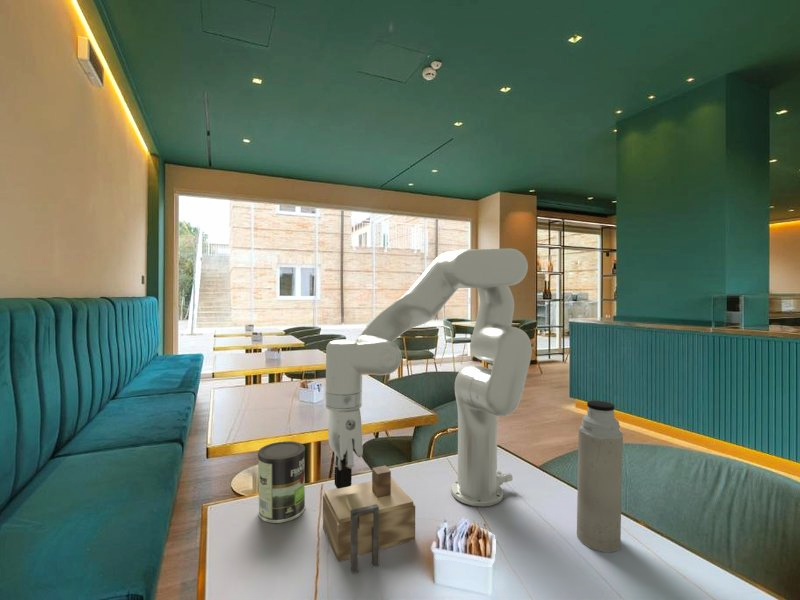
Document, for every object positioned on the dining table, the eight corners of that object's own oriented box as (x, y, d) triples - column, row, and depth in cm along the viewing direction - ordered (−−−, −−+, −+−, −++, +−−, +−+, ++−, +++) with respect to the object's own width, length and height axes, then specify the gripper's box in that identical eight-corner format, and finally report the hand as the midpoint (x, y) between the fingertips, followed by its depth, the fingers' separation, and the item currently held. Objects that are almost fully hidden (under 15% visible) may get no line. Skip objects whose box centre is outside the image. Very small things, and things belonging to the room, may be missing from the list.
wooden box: (391, 509, 92) (392, 462, 92) (424, 551, 78) (424, 495, 77) (322, 526, 86) (322, 475, 85) (344, 576, 71) (344, 515, 71)
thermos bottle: (602, 525, 86) (605, 396, 85) (629, 550, 78) (633, 407, 77) (568, 529, 85) (571, 398, 84) (592, 554, 77) (595, 409, 76)
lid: (391, 485, 92) (391, 455, 91) (413, 510, 81) (413, 477, 81) (324, 499, 85) (324, 467, 85) (339, 529, 75) (339, 493, 75)
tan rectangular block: (358, 502, 80) (358, 491, 80) (373, 526, 72) (373, 513, 72) (345, 505, 79) (345, 493, 79) (359, 530, 71) (359, 517, 71)
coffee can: (312, 501, 96) (312, 442, 95) (292, 526, 86) (292, 461, 85) (273, 496, 98) (272, 439, 97) (249, 520, 88) (248, 456, 87)
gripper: (373, 407, 79) (372, 499, 79) (350, 389, 92) (349, 468, 93) (335, 411, 76) (334, 507, 76) (317, 392, 89) (317, 473, 90)
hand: (342, 485), depth 85 cm, fingers closed
